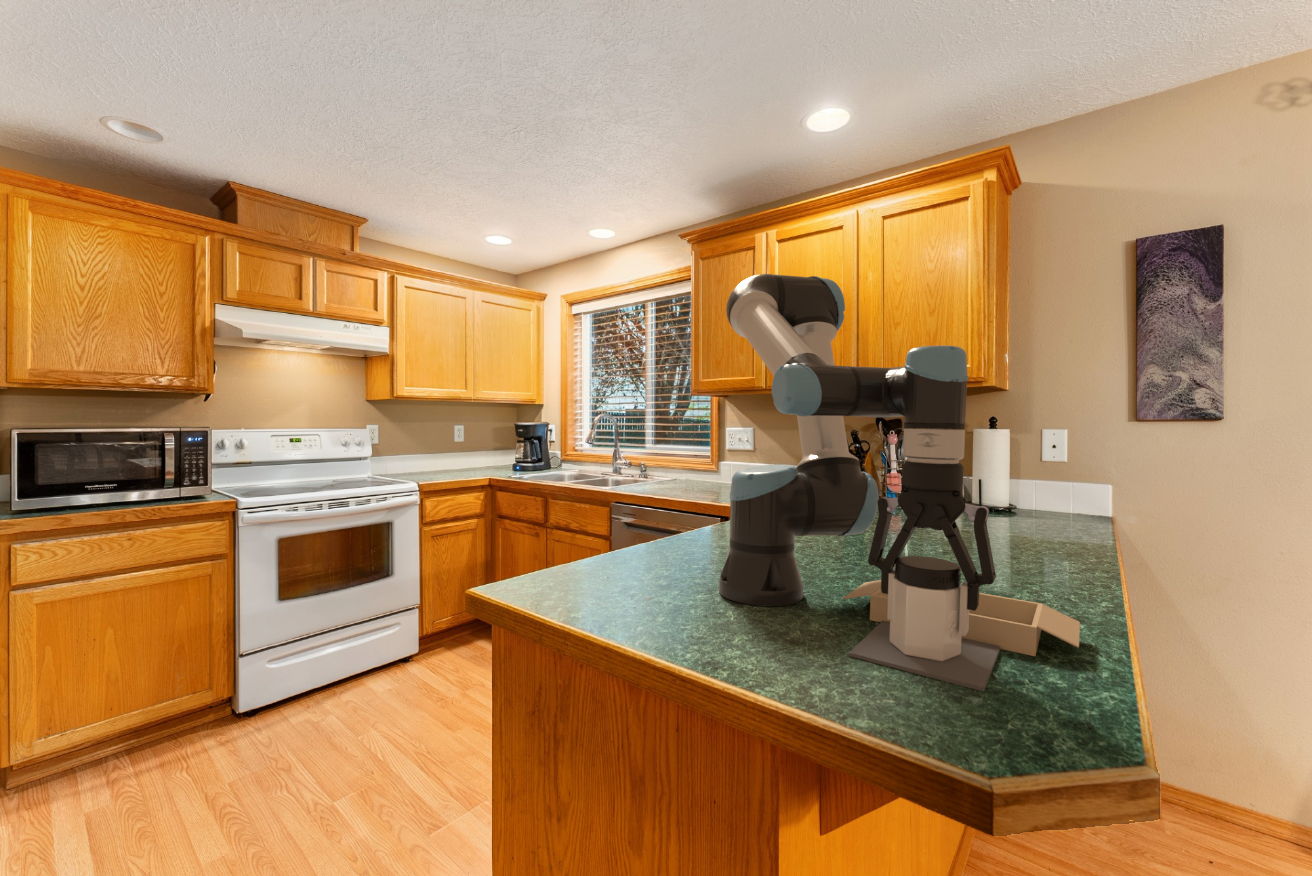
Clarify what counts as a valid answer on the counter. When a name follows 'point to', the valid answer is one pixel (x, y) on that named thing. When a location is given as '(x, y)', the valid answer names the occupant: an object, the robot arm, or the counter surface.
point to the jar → (926, 608)
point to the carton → (995, 620)
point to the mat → (960, 670)
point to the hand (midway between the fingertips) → (926, 624)
